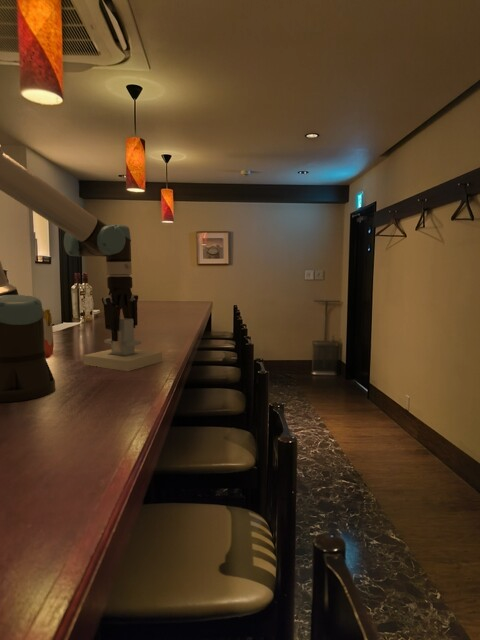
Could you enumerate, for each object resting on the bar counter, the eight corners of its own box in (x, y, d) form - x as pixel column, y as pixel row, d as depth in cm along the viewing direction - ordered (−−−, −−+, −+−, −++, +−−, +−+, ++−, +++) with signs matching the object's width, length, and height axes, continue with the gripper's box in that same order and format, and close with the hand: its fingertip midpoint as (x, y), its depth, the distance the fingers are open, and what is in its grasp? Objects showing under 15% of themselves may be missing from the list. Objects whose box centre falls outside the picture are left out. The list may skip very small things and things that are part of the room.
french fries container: (55, 352, 154) (52, 303, 151) (49, 358, 143) (45, 305, 141) (41, 353, 152) (38, 303, 150) (34, 359, 142) (31, 305, 140)
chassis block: (128, 371, 123) (127, 361, 123) (83, 364, 133) (83, 355, 132) (162, 361, 136) (161, 352, 136) (119, 356, 146) (119, 347, 145)
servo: (132, 356, 130) (130, 317, 128) (105, 352, 136) (103, 315, 134) (141, 353, 133) (140, 316, 132) (114, 350, 139) (112, 314, 138)
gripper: (107, 276, 122) (111, 356, 125) (147, 275, 137) (150, 346, 140) (89, 276, 126) (93, 353, 129) (130, 275, 140) (133, 344, 143)
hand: (123, 349), depth 134 cm, fingers closed on servo, 4 cm apart
